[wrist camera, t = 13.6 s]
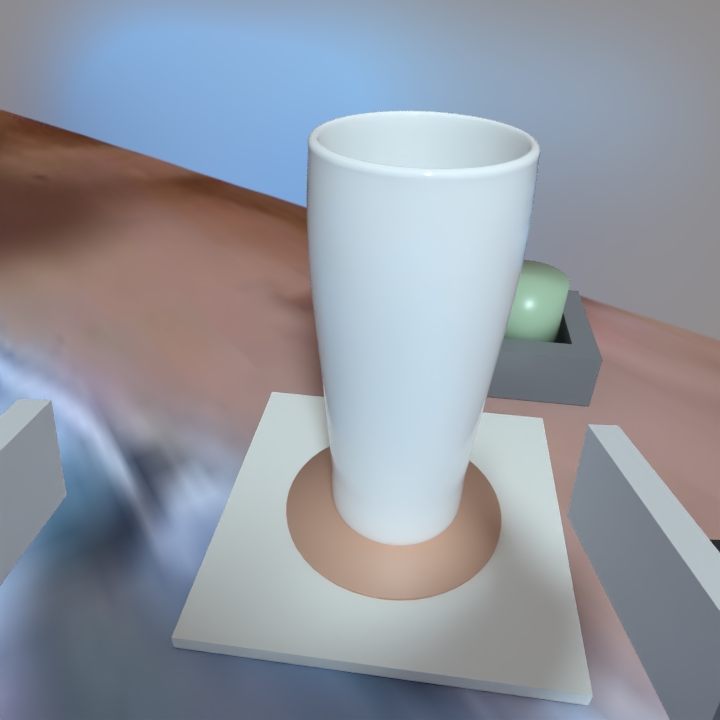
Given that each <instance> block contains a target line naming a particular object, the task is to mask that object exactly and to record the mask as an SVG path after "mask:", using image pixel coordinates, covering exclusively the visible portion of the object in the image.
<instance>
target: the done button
mask: <svg viewBox="0 0 720 720" xmlns="http://www.w3.org/2000/svg"><path fill="white" fill-rule="evenodd" d="M569 285H570V280H569V278H568V277H567V275H566V274H565V273H563V272H562V271H560V270H559V269H557V268H555V267H553V266H550V265H547V264H544V263H541V262H536V261H530V260H524V261H523V266H522V271H521V275H520V280H519V284H518V288H517V292H516V296H515V299H514V303H513V307H512V310H511V314H510V318H509V321H508V325H507V329H506V332H505V336H504V338H506V339H517V340H529V341H541V342H552V343H556V340H557V336H558V331H559V327H560V323H561V319H562V315H563V311H564V306H565V302H566V298H567V294H568V290H569Z"/></svg>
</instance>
